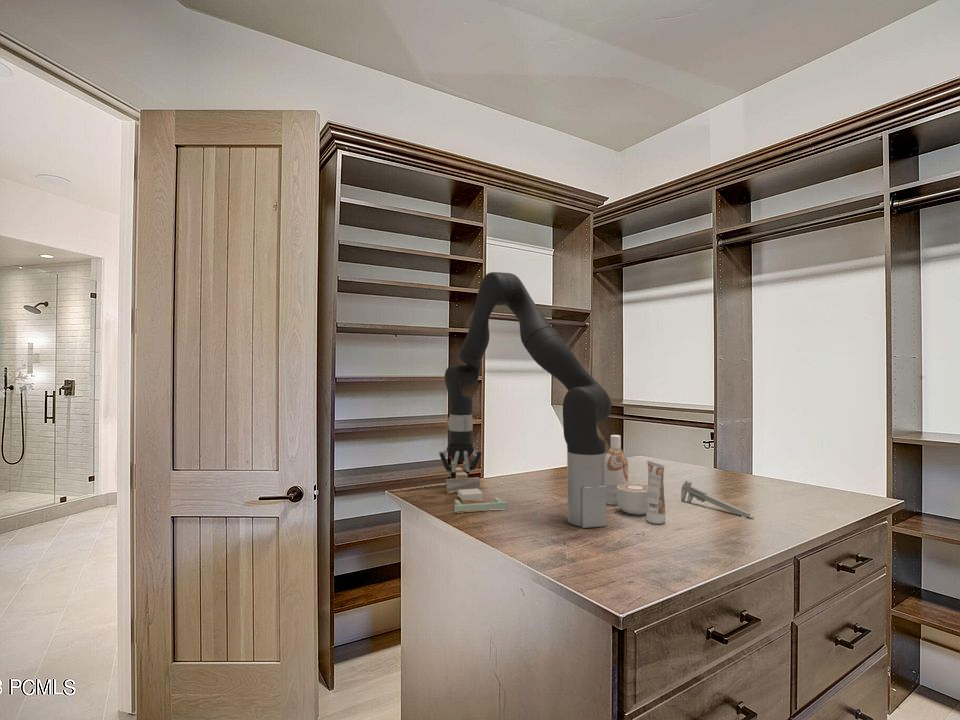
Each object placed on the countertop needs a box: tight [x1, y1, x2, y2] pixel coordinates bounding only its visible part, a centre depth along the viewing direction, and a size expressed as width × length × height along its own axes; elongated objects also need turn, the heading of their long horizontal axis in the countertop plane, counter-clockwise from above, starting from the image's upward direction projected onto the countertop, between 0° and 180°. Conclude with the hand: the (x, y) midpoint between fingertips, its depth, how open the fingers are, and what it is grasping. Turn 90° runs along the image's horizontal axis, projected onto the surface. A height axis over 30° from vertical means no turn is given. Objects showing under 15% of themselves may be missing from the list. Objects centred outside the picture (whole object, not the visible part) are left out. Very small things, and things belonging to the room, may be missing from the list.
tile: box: [457, 488, 484, 500], centre depth 149 cm, size 6×6×2 cm
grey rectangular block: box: [445, 466, 481, 493], centre depth 163 cm, size 13×10×5 cm
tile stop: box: [454, 496, 508, 513], centre depth 139 cm, size 6×14×2 cm, turn 103°
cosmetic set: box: [605, 434, 666, 525], centre depth 136 cm, size 25×9×19 cm, turn 16°
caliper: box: [680, 480, 755, 519], centre depth 138 cm, size 20×1×6 cm, turn 34°
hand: (459, 483), depth 163 cm, fingers closed on grey rectangular block, 3 cm apart
